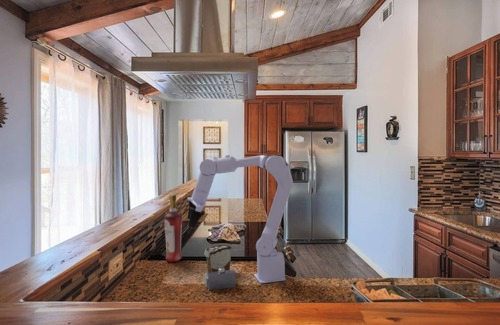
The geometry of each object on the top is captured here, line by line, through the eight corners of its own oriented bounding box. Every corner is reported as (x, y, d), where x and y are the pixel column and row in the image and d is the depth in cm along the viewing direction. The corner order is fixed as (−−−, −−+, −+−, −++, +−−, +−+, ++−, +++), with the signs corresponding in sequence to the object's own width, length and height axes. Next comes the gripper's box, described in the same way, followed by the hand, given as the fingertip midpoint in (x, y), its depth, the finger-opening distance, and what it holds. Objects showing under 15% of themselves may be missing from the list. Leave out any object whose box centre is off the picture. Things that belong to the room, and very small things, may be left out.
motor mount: (232, 278, 105) (232, 261, 105) (237, 286, 97) (236, 268, 97) (204, 281, 102) (204, 264, 102) (207, 290, 95) (206, 271, 95)
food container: (221, 266, 117) (220, 241, 117) (232, 269, 113) (232, 243, 113) (197, 275, 107) (197, 248, 107) (209, 279, 103) (208, 251, 103)
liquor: (161, 260, 124) (160, 195, 124) (175, 256, 130) (174, 193, 129) (171, 264, 119) (170, 196, 119) (186, 259, 125) (185, 194, 125)
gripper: (190, 182, 116) (180, 213, 117) (193, 192, 102) (181, 227, 103) (207, 186, 118) (197, 217, 119) (212, 197, 104) (200, 232, 105)
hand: (190, 222), depth 111 cm, fingers open, 7 cm apart
